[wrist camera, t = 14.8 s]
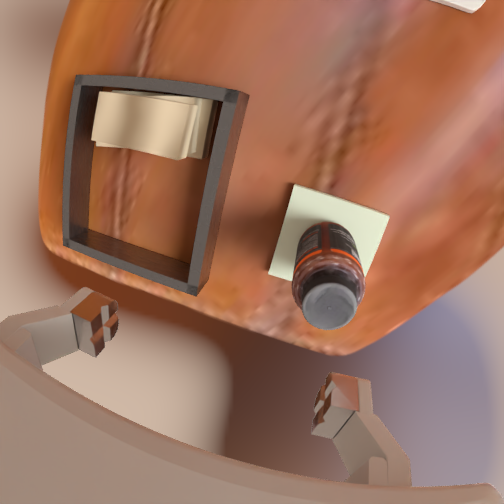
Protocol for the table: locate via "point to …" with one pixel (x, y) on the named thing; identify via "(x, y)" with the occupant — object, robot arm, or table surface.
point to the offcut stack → (155, 123)
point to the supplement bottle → (328, 276)
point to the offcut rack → (215, 190)
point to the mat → (326, 210)
